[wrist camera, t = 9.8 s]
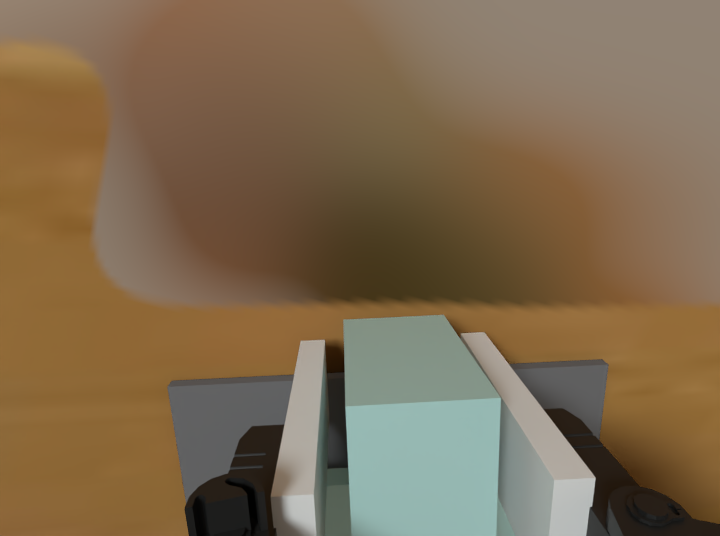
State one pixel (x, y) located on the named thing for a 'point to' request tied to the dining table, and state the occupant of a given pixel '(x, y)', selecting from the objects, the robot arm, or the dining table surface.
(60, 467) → the dining table surface
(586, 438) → the robot arm
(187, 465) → the mat
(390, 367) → the block with upright tab
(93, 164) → the dining table surface
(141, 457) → the dining table surface
